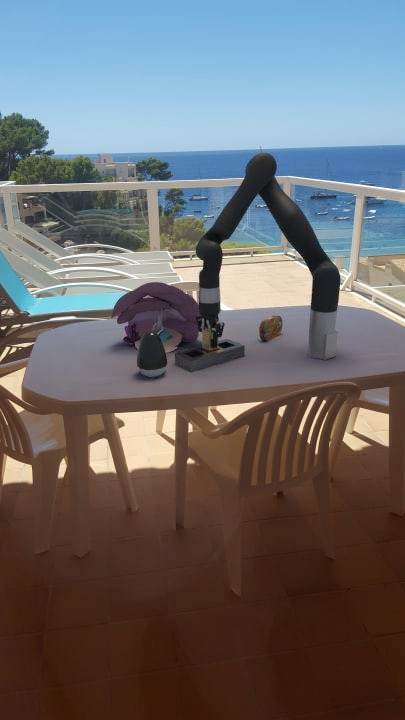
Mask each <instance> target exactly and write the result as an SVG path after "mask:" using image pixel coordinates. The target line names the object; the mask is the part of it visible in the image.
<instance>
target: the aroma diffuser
mask: <svg viewBox="0 0 405 720" xmlns="http://www.w3.org/2000/svg"><path fill="white" fill-rule="evenodd" d="M162 333H163V331H162V330H160V331H159V332H157V333H156V332H154V331H148V332H146V333H144V335H143V336H142V338H141V341H140V344H139V348H138V349H137V355H136V366H137V368H138V370H139V372H140V373H141V374H142V375H143V376H146V377H149V378H155V377H159V376H161V375H162V374H164V372H165V371H166V368H167V365H168V357H167V356H168V355H167V353H166V352H165V348H164V345H163V343H162V341H161V339H160V337H159V336H160V335H161V334H162Z"/></svg>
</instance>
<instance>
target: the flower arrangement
mask: <svg viewBox="0 0 405 720" xmlns="http://www.w3.org/2000/svg"><path fill="white" fill-rule="evenodd" d="M147 296H149V297H147ZM198 315H201V314H200V313H199V302H197V300H196V299H195V298H194V296H192V295H191V294H189V293H186V292H185V291H183V290H182V289H181V288H179V287H176V286H173V285H169V284H167V283H165V282H162V281H161V282H159V281H152V282H147V283H143V284H141V285H139V286H138V287H137V288H135V289H133V290H131V291H128V292H126V293H125V294H122V296H121V297H119V299H117V301H116V302H115V304H114V306H113V310H112V312H111V318H110V319H113V318H115V317H116V316H118V317H117V319H116V323H117V324H118V325H122V324H125V323H126V324H127V325H125V326H124V331H125V334H126V336H124V337H123V338H122V339H123V342H124V343H126V344H129V346H130V345H132V344H134V346H135V348H136V349H137V350H138V348H139V344H140V341H141V338H142V336H143V335H144V333H146V332H148V331H154V332H156V333H157V332H159V331H160V330H162V331H163V333H162V334H161V335H160V336H159V337H160V339H161V341H162V343H163V345H164V348H165V352H166V354H167V353H171V352H172V351H175V350H177V348H179V347H178V345H179V344H180V343H181V342H187V343H190V342H195V341H197V340H198V338H199V336H200V335H199V333H200V332H199V330H198V325H197V321H196V316H198ZM200 322H201V321H200ZM201 327H202V325H201Z"/></svg>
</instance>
